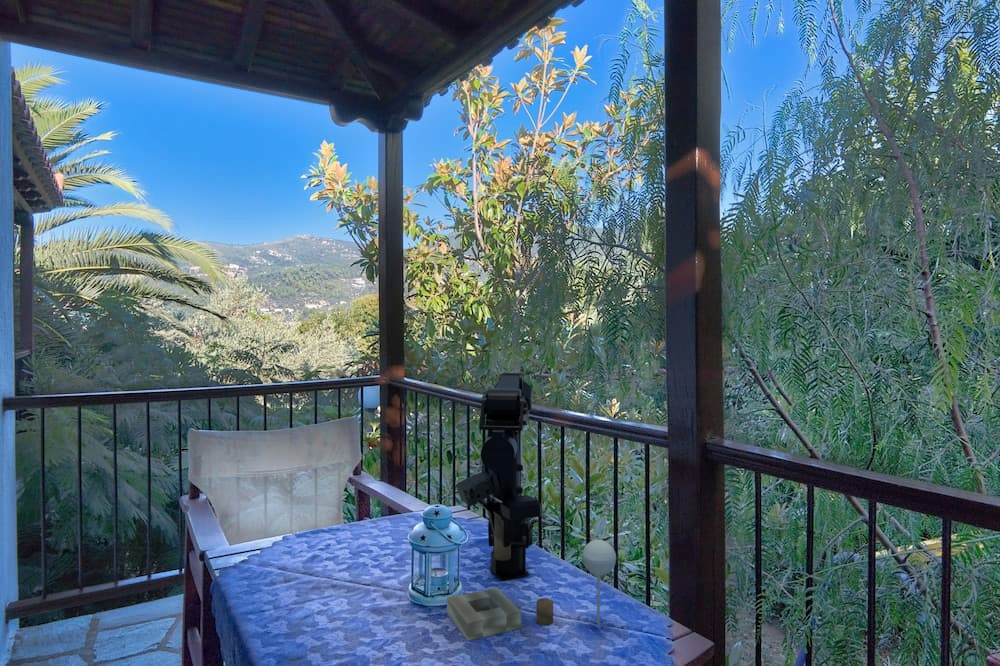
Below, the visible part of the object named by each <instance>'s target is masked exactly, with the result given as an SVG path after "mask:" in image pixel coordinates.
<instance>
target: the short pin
mask: <svg viewBox="0 0 1000 666" xmlns="http://www.w3.org/2000/svg"><path fill="white" fill-rule="evenodd" d="M535 607H536V613H535V614H536V615H535V616H536V618H535V619H536V623H537V624H538V625H539V626H551V625H553V624H554V601H553V600H552V599H551V598H545V597H544V598H542V597H541V598H538V599H537V600H536V606H535Z"/></svg>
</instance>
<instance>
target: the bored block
mask: <svg viewBox="0 0 1000 666" xmlns="http://www.w3.org/2000/svg"><path fill="white" fill-rule="evenodd" d="M446 603H447V604H446V606H447V607H446V614H447V615H448V617H449V618H450V620H451V619H452V620H451V621H452V622H453V624H454V625H455V626H456V628H457V627H458V628H457V629H458V630H459V632H460V633H461V634H462V635H463V637H464V639H465V640H466V641H467V642H468V641H472V640H477V639H481V638H485V637H489V636H494V635H497V634H498V635H499V634H503V633H506V632H511V631H517V630H519V629H522V611H521V610H520V609H519V608H518V607H517V606H516V605H515V604H514V602H512V601H511V600H510V599H509V598H508V597H507V596H506V595H505V593H503V592H502V591H501V590H500V589H499V588H498V587H496V588H495V587H494V588H490V589H486V590H485V589H484V590H480V591H474V592H470V593H464V594H460V595H459V594H458V595H454V596H450V597H447V600H446Z"/></svg>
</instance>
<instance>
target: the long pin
mask: <svg viewBox="0 0 1000 666" xmlns="http://www.w3.org/2000/svg"><path fill="white" fill-rule="evenodd" d="M494 558H495V559H496V560H501V561H505V560H509V559H510V558H511V544H510V546H509V547H504V546H503V541H502V533H501V523H500V519H499V518H498V517H497V516H496V515H495V519H494Z"/></svg>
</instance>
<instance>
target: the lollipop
mask: <svg viewBox="0 0 1000 666" xmlns="http://www.w3.org/2000/svg"><path fill="white" fill-rule="evenodd" d="M581 559H582V563H583V565H584V567H585V569H586V570H587V571H588V572H589V573H591V574H593V575H596V576H597V579H596V580H597V589H596V592H597V593H596V597H597V598H596V601H597V602H596V604H597V605H596V611H597V612H596V625H597V626H600V624H601V623H600V622H601V621H600V619H601V618H600V617H601V615H600V614H601V613H600V612H601V611H600V610H601V576H605V575H608V574H609V573H611V572H612V570H613V569H614V567H615V566H616V562H617V554H616V551H615V550H614V547H613V546H612V545H611V544H610V543H608V542H607V541H605V540H603V539H594V540H592V541H590V542H588V543H586V545H585V547H584V548H583V551H582V554H581Z"/></svg>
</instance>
